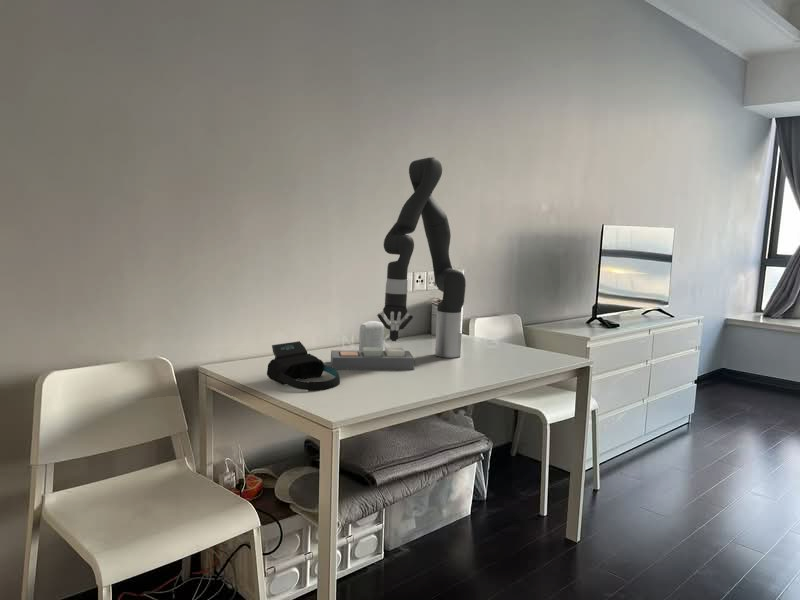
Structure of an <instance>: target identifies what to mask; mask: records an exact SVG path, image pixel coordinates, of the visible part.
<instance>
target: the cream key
mask: <svg viewBox="0 0 800 600" xmlns="http://www.w3.org/2000/svg"><path fill="white" fill-rule="evenodd" d="M384 351H385V356H388V357H404V354H405V351H406V350H404V348H403V347H385V348H384Z"/></svg>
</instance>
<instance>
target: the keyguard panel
mask: <svg viewBox="0 0 800 600" xmlns="http://www.w3.org/2000/svg"><path fill="white" fill-rule="evenodd" d="M404 351H405V354H404V357H388V356H385V350H383V351H382V356H363V351H359V350H344V349H343V350H339V349H337V350H336V349H335V350H334V349H333V350H330V365H331V368H333V369H334V370H378V371H379V370H381V371H382V370H385V371H386V370H391V371H393V370H401V371H402V370H403V371H405V370H410V371H411V370H415V357H414V356H413V355H412V353H411V352H410V351H409V350H404ZM340 352H357V353H358V355H359V356H340Z"/></svg>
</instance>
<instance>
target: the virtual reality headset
mask: <svg viewBox="0 0 800 600" xmlns="http://www.w3.org/2000/svg"><path fill="white" fill-rule="evenodd" d="M271 347H272V349H271V350H272V354H273V355H274V359H271V360H270V361H269V362H268V364H267V370H266V375H267V377H268V379H270V380H271V381H273V382H276V384H277V383H278V384H279V385H282V386H285V385H287V386H289V387H292V388H294V389H297V390H303V391H308V392H320V390H321V391H326V390H331V389H334V388H337V387H338V386H340V385H341V378H340V373H339V372H338V370H337V369H333V368H332V366H329V365H326V364H325V363H324V362H323V360H322V359H320V358H318V357H317V356H315V355H313V354H311V353H308V350H307V349H306V347H305V346H304V344H303V343H302V341H300V340H298V341H291V342H285V343H277V344H272V345H271ZM323 373H327V374H329V375H331V376H332V377H333V378H331V379H328V380H320V381H315V380H312V379H317V378H319V379H320V378H321V377H322V375H323ZM309 379H311V381H302V380H309Z"/></svg>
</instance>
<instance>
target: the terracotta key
mask: <svg viewBox="0 0 800 600" xmlns="http://www.w3.org/2000/svg"><path fill="white" fill-rule="evenodd" d="M340 356H359V355H358V353H357V352H340Z"/></svg>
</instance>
